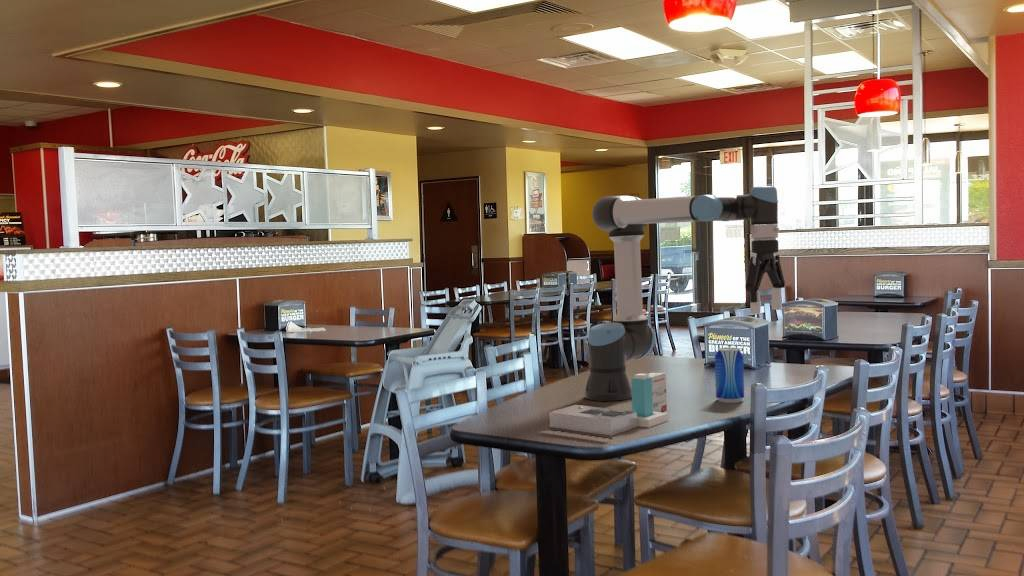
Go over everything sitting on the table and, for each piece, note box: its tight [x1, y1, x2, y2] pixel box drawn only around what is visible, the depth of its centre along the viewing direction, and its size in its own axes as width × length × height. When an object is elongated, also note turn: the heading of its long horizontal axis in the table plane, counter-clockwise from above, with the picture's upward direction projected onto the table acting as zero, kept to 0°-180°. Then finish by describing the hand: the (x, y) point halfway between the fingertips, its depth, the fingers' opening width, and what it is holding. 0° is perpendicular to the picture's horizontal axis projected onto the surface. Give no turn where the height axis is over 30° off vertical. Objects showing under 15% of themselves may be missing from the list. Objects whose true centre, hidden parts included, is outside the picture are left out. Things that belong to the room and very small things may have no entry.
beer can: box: [714, 347, 745, 404], centre depth 266 cm, size 8×8×16 cm
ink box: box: [648, 372, 668, 413], centre depth 249 cm, size 9×5×12 cm, turn 141°
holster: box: [637, 411, 669, 429], centre depth 237 cm, size 10×10×3 cm
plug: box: [630, 372, 653, 417], centre depth 236 cm, size 4×4×13 cm
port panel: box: [548, 404, 638, 440], centre depth 233 cm, size 20×12×6 cm, turn 49°
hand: (766, 311), depth 256 cm, fingers open, 13 cm apart
